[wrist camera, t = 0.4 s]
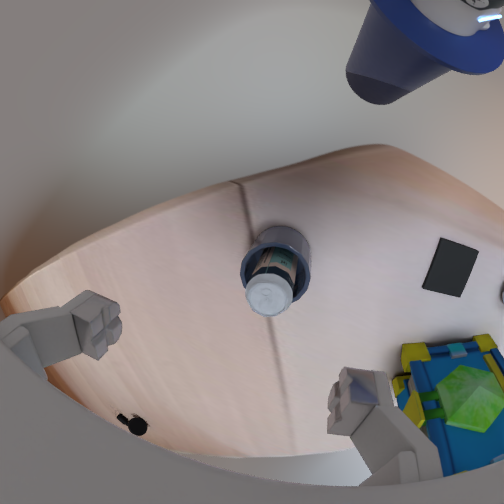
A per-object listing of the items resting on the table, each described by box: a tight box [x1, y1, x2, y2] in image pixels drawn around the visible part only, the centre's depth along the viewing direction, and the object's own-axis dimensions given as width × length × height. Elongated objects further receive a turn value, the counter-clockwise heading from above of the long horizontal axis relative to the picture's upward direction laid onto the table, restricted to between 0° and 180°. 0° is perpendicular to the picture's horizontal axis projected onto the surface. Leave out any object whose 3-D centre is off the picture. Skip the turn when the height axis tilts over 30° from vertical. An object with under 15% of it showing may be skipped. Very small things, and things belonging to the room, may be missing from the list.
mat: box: [422, 238, 479, 297], centre depth 32 cm, size 8×8×1 cm
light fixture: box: [114, 413, 147, 436], centre depth 64 cm, size 6×11×13 cm
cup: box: [240, 226, 311, 303], centre depth 34 cm, size 8×8×7 cm
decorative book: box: [392, 334, 504, 477], centre depth 24 cm, size 14×23×30 cm, turn 94°
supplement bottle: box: [245, 246, 298, 317], centre depth 31 cm, size 5×5×12 cm
